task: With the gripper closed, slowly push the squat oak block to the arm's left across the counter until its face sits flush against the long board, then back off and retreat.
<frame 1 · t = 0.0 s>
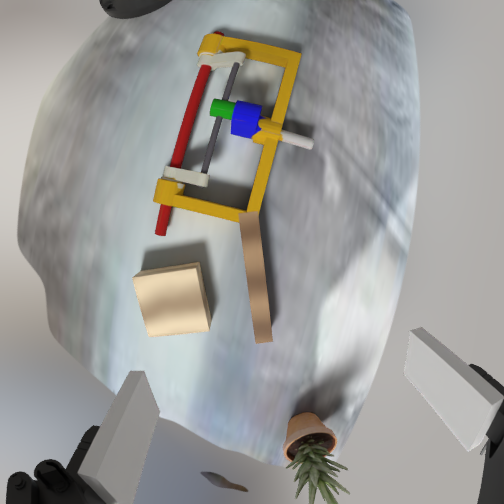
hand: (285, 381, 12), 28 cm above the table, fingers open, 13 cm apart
mechanical clamp: (241, 139, 36), on the table, touching board
potted plant: (303, 421, 47), on the table
block: (176, 295, 41), on the table
board: (255, 274, 40), on the table
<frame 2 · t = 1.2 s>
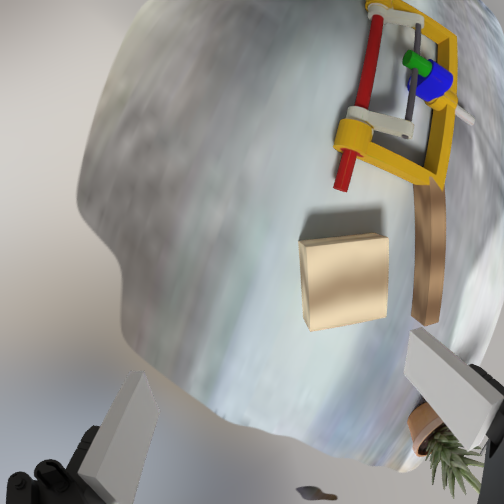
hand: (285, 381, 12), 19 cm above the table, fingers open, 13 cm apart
mechanical clamp: (412, 100, 27), on the table, touching board
potted plant: (421, 412, 38), on the table
block: (338, 274, 32), on the table
board: (422, 249, 31), on the table
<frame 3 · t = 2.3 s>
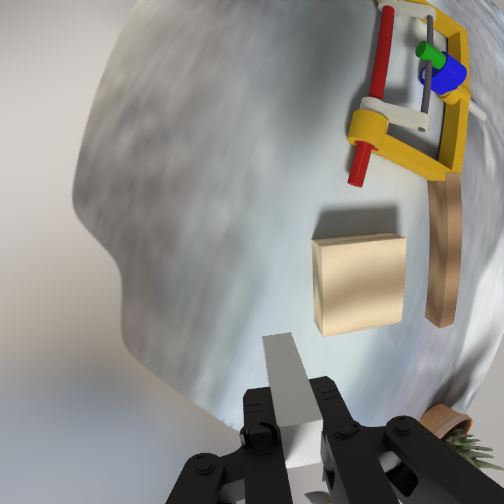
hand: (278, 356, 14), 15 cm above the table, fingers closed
mechanical clamp: (424, 93, 25), on the table, touching board
potted plant: (432, 414, 36), on the table
block: (351, 276, 30), on the table
board: (436, 248, 29), on the table
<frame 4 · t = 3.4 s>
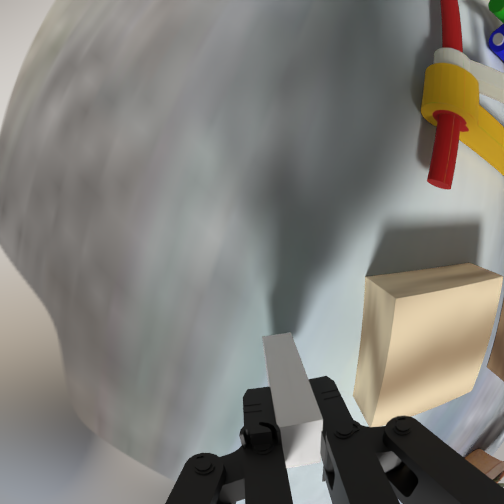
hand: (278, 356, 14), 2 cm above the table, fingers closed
mechanical clamp: (495, 65, 13), on the table, touching board
potted plant: (466, 460, 23), on the table
block: (414, 329, 17), on the table
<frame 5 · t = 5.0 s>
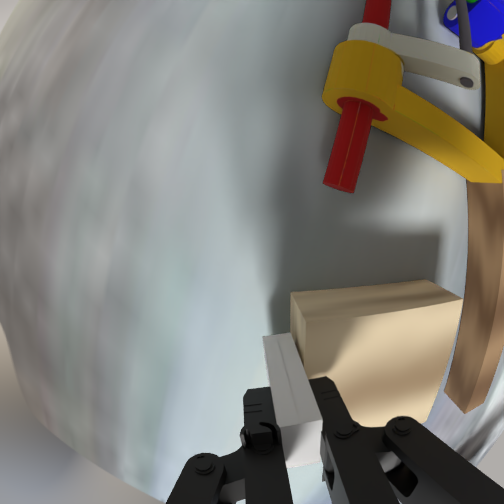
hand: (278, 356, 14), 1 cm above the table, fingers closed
mechanical clamp: (453, 44, 12), on the table, touching board
block: (358, 351, 16), on the table, touching gripper
board: (474, 294, 16), on the table
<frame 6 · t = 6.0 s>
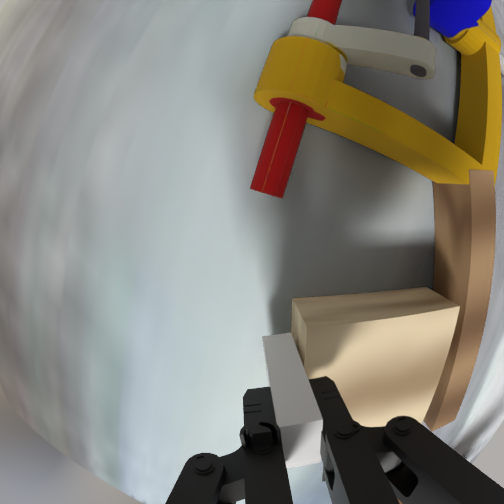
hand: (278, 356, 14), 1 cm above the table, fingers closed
mechanical clamp: (423, 35, 12), on the table, touching board
block: (356, 355, 17), on the table
board: (443, 305, 16), on the table
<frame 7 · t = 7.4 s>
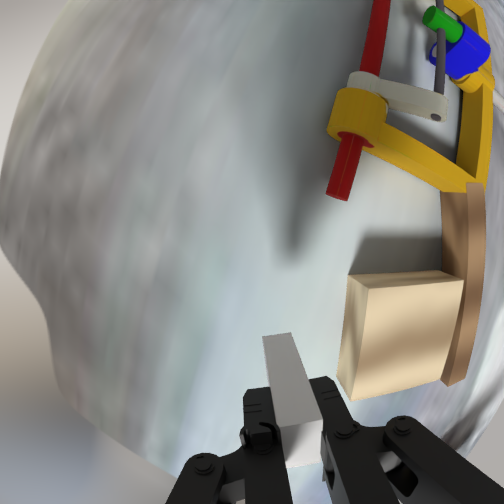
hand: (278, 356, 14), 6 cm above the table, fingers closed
mechanical clamp: (436, 77, 18), on the table, touching board
block: (388, 322, 22), on the table
board: (449, 284, 21), on the table
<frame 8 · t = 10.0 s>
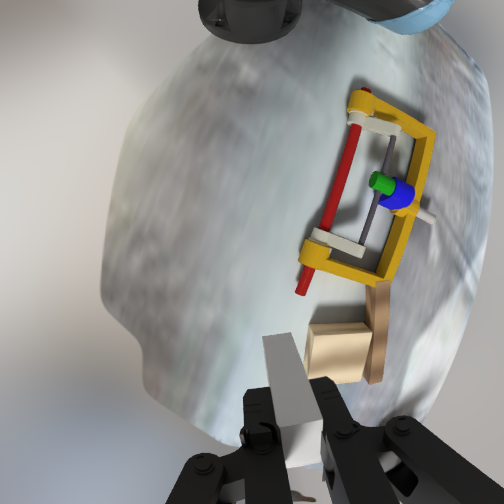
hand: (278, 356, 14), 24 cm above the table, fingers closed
mechanical clamp: (377, 205, 38), on the table, touching board
block: (331, 347, 42), on the table
board: (371, 327, 42), on the table
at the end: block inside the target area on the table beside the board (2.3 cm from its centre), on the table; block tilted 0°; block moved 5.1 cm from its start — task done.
